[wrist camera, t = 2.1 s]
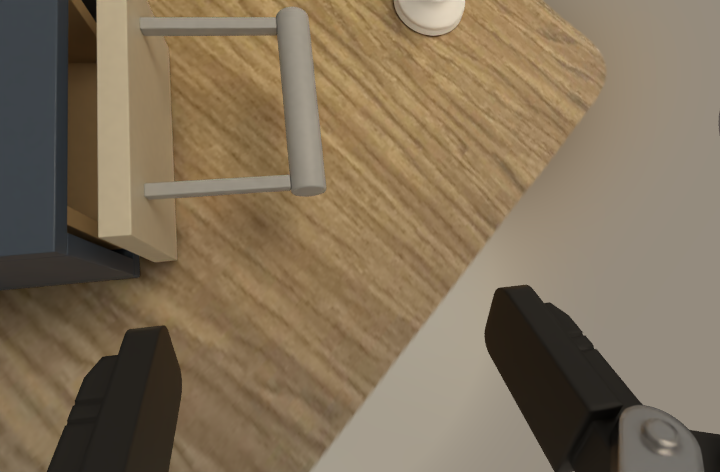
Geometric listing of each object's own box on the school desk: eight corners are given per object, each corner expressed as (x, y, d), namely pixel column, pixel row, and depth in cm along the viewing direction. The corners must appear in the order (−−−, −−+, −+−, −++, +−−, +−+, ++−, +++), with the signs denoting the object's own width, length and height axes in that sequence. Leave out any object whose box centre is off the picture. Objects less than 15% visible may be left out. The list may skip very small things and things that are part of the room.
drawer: (302, 46, 27) (306, -45, 20) (323, 247, 25) (334, 219, 18) (-122, 51, 23) (-291, -60, 16) (-144, 288, 21) (-350, 272, 14)
